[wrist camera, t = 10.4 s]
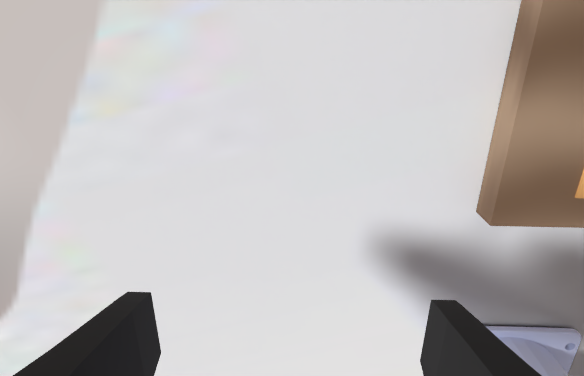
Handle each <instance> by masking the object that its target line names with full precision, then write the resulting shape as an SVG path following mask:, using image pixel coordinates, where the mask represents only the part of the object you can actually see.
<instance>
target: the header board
mask: <svg viewBox="0 0 584 376" xmlns="http://www.w3.org/2000/svg"><path fill="white" fill-rule="evenodd" d="M476 212H477V213H478V214H479V215H480V216H481V217H482V218H483V219H484V220H485V221H486V222H487V223H488V224H489V225H490V226H531V227H580V228H584V0H522V1H521V5H520V10H519V15H518V19H517V24H516V29H515V33H514V38H513V43H512V47H511V52H510V57H509V61H508V66H507V71H506V75H505V80H504V84H503V89H502V94H501V98H500V103H499V108H498V112H497V117H496V122H495V126H494V131H493V136H492V140H491V145H490V150H489V154H488V159H487V163H486V168H485V173H484V177H483V182H482V187H481V191H480V196H479V201H478V205H477V210H476Z"/></svg>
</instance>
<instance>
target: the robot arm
mask: <svg viewBox="0 0 584 376" xmlns="http://www.w3.org/2000/svg"><path fill="white" fill-rule="evenodd" d="M581 338H582V336H581V334H580V333H579V332H578V331H577V330H575V329H572V328H540V327H505V326H484V325H483V324H482V323H481V322H480V321H479V320H478V319H476V318H475V317H474V316H473V315H472V314H471V313H470V312H469V311H467V310H466V309H465V308H464V307H463V306H462V305H461V304H459V303H458V302H457V301H456V300H431V304H430V310H429V315H428V321H427V326H426V332H425V337H424V343H423V348H422V354H421V359H420V362H421V366H422V370H423V374H424V376H569V375H568V372H569V370H570V367H571V365H572V362H573V360H574V357H575V354H576V352H577V349H578V347H579V344H580V342H581ZM160 354H161V350H160V344H159V338H158V332H157V326H156V320H155V314H154V308H153V302H152V296H151V293H150V292H127V293H126V294H124V295H123V296H121V297H120V298H118V299H117V300H116V301H114V302H113V303H112V304H110V305H109V306H108V307H106V308H105V309H104V310H102V311H101V312H100V313H98V314H97V315H96V316H95V317H93V318H92V319H91V320H89V321H88V322H87V323H85V324H84V325H83V326H81V327H80V328H79V329H77V330H76V331H75V332H73V333H72V334H71V335H69V336H68V337H67V338H65V339H64V340H63V341H61V342H60V343H59V344H57V345H56V346H55V347H53V348H52V349H51V350H49V351H48V352H46V353H45V354H43V355H42V356H41V357H39V358H38V359H36V360H35V361H33V362H32V363H31V364H29V365H28V366H26V367H25V368H23V369H22V370H20V371H19V372H18V373H16V374H15V375H13V376H154V373H155V370H156V367H157V364H158V361H159V358H160Z"/></svg>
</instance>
